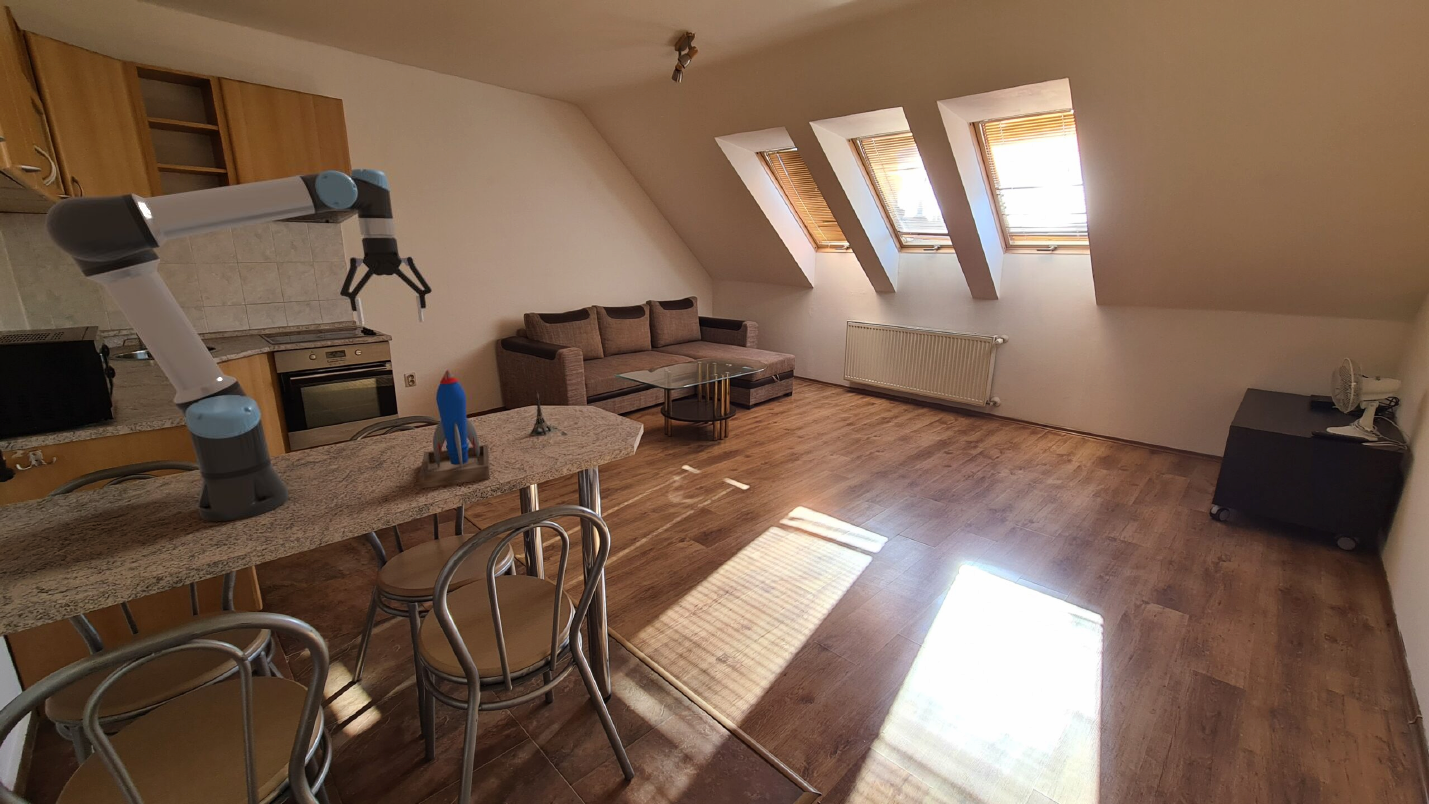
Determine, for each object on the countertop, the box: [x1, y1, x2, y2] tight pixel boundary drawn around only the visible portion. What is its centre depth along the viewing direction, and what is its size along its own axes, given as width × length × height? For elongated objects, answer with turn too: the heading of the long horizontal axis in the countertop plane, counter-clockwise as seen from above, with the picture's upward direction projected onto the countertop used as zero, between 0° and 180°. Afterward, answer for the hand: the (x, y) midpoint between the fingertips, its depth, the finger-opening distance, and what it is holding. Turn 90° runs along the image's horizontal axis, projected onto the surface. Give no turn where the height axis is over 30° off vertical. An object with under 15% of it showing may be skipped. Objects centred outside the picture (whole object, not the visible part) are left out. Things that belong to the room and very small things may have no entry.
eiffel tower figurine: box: [517, 391, 569, 437], centre depth 171 cm, size 15×10×13 cm
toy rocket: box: [432, 369, 480, 468], centre depth 140 cm, size 11×10×25 cm
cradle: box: [418, 443, 491, 489], centre depth 144 cm, size 15×16×3 cm
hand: (392, 322), depth 149 cm, fingers open, 13 cm apart
